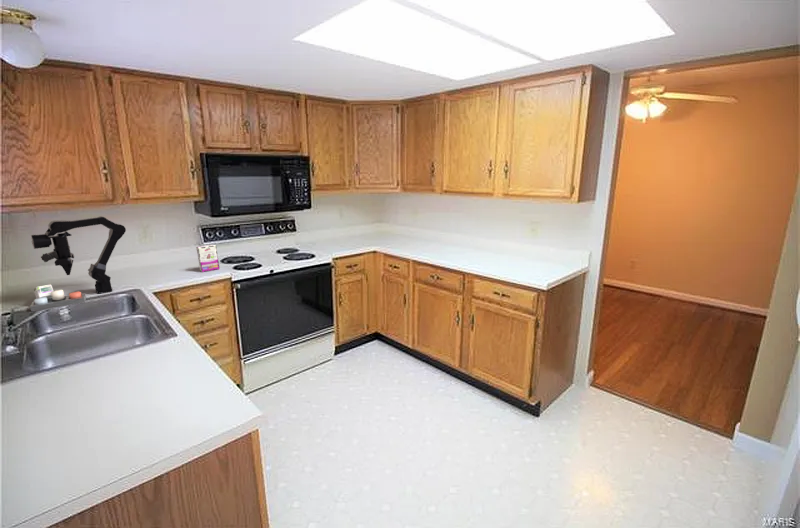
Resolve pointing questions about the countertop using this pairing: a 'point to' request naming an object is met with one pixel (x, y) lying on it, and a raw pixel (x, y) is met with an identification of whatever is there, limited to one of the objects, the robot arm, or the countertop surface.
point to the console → (58, 303)
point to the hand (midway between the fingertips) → (68, 275)
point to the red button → (75, 295)
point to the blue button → (41, 300)
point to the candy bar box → (208, 258)
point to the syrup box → (43, 291)
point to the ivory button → (57, 295)
